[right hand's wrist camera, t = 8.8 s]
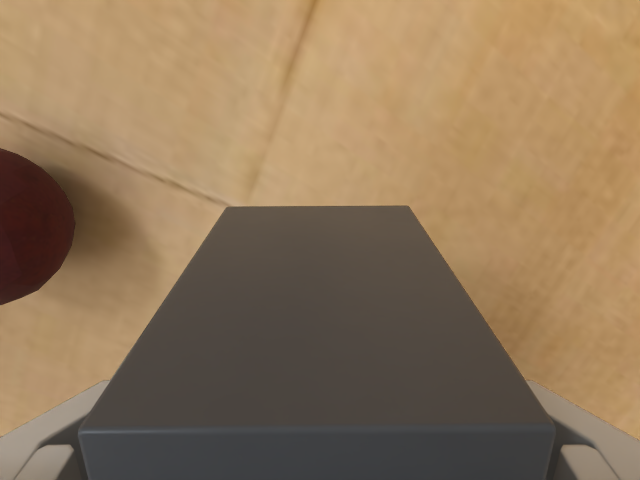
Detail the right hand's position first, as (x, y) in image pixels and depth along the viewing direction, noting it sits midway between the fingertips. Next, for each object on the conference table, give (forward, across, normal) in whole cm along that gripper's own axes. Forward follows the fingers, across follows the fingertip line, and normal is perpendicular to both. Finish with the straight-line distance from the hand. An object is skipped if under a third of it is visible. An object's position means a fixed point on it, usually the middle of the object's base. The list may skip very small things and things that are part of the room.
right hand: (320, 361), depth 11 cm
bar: (+3, 0, -9) cm, 9 cm away
